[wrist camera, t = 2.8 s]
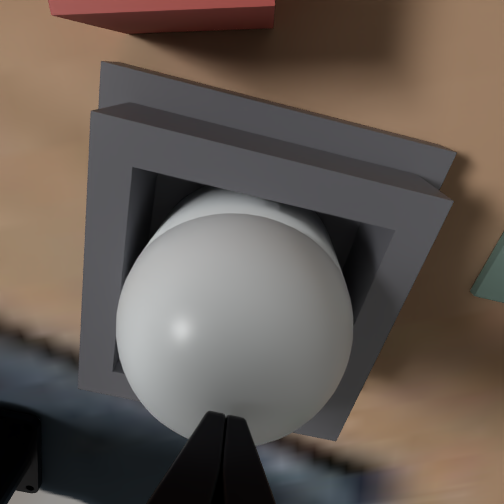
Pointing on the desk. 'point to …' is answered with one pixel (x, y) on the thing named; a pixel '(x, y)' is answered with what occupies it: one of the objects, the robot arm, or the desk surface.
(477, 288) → the tile
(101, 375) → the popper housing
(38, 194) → the desk surface
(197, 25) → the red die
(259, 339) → the dome
